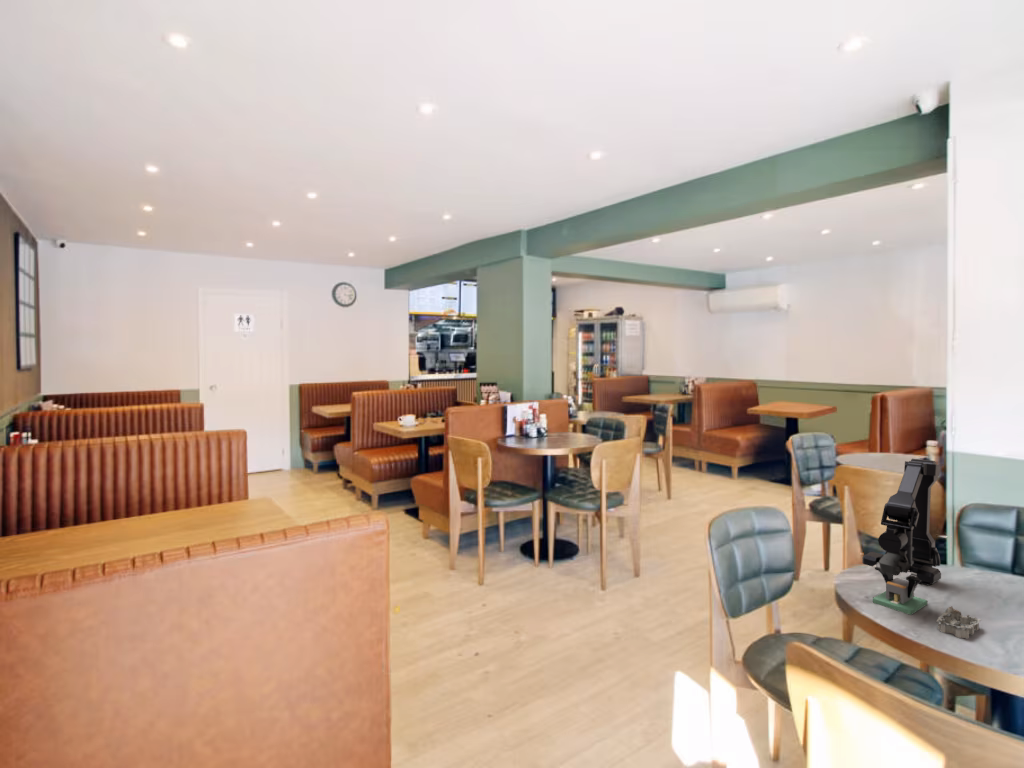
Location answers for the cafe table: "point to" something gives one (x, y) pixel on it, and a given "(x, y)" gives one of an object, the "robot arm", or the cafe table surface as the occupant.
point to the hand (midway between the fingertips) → (899, 594)
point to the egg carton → (957, 623)
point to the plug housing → (898, 589)
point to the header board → (895, 603)
